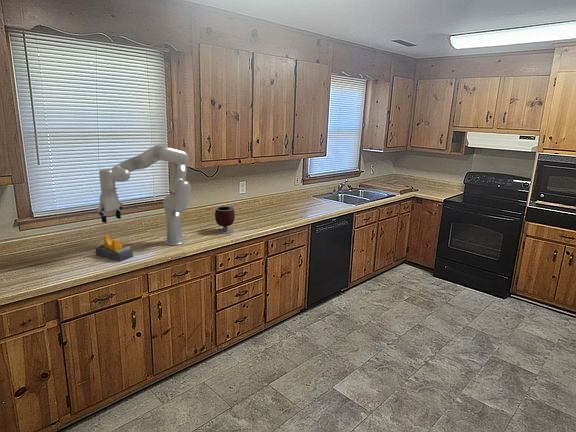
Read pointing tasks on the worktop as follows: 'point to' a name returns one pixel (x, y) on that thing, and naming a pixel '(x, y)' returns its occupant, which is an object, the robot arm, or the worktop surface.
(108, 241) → the orange stepped block
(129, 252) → the mounting block
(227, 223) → the mate gourd
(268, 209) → the worktop surface
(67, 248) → the worktop surface
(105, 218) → the robot arm
